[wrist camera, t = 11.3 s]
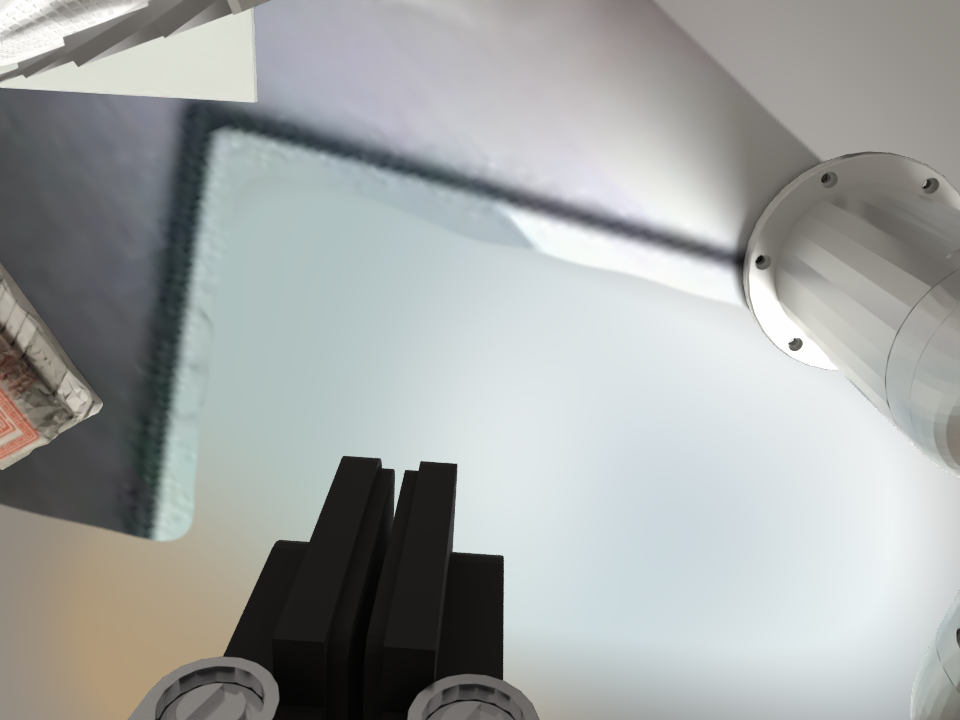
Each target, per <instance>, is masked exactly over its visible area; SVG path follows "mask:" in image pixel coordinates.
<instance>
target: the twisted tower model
mask: <svg viewBox="0 0 960 720" xmlns="http://www.w3.org/2000/svg"><path fill="white" fill-rule="evenodd" d="M267 1H270V0H0V66H5V65H9V64H13V63H16V62H18V63H17V64H18V67H19V68H17V69H14V70H11V71H9V72H6V73H3V74H1V75H0V83H1V82H4V81H7V80H9V79H12V78H15V77H17V76H20V75H23V76H24V77H25V78H29V77H32V76H34V75H37V74H40V73H42V72H45V71H48V70H50V69H53V68H56V67H58V66H61V65H64V64H66V63H69V62H72V61H74V63H75V64H76V65H77V66H78V67H80V66H83V65H86V64H88V63H91V62H94V61H97V60H99V59H102V58H105V57H107V56H110V55H113V54H116V53H118V52H121V51H124V50H126V49H129V48H132V47H134V46H137V45H140V44H143V43H145V42H148V41H151V40H153V39H156V38H159V37H162V36H163V37H164V38H168V37H170V36H173V35H176V34H178V33H181V32H184V31H186V30H189V29H192V28H195V27H197V26H200V25H203V24H205V23H208V22H211V21H213V20H216V19H219V18H221V17H224V16H227V15H230V14H232V13H233V15H235V14H238V13H241V12H243V11H246V10H248V9H250V8H253V7H255V6H258V5H260V4H262V3H265V2H267ZM20 61H21V62H20Z"/></svg>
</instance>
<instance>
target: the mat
mask: <svg viewBox="0 0 960 720" xmlns="http://www.w3.org/2000/svg"><path fill="white" fill-rule="evenodd" d="M20 62H21V61H20ZM17 63H18V62H16V63H13V64H9V65H5V66H0V75H1V74H3V73H6V72H9V71H11V70H14V69H17V68H19V67H18V64H17ZM0 87H1V88H18V89H35V90H52V91H69V92H86V93H103V94H120V95H137V96H155V97H172V98H189V99H206V100H223V101H240V102H258V98H257V74H256V50H255V26H254V7H253V8H250V9H248V10H246V11H243V12H241V13H238V14H235V15H233V13H232V14H230V15H227V16H224V17H221V18H219V19H216V20H213V21H211V22H208V23H205V24H203V25H200V26H197V27H195V28H192V29H189V30H186V31H184V32H181V33H178V34H176V35H173V36H170V37H168V38H164V37H163V36H162V37H159V38H156V39H153V40H151V41H148V42H145V43H143V44H140V45H137V46H134V47H132V48H129V49H126V50H124V51H121V52H118V53H116V54H113V55H110V56H107V57H105V58H102V59H99V60H97V61H94V62H91V63H88V64H86V65H83V66H80V67H78V66H77V65H76V64H75V63H74V61H72V62H69V63H66V64H64V65H61V66H58V67H56V68H53V69H50V70H48V71H45V72H42V73H40V74H37V75H34V76H32V77H29V78H25V77H24V76H23V75H20V76H17V77H15V78H12V79H9V80H7V81H4V82H1V83H0Z"/></svg>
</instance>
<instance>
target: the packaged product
mask: <svg viewBox="0 0 960 720" xmlns="http://www.w3.org/2000/svg"><path fill="white" fill-rule="evenodd" d="M102 405H103V403H102V401H101V399H100V398H99V397H98V396H97V394H96V393H95V392H94V390H93V389H92V388H91V386H90V385H89V384H88V382H87V381H86V380H85V378H84V377H83V376H82V375H81V373H80V372H79V371H78V370H77V368H76V367H75V366H74V364H73V363H72V362H71V360H70V359H69V357H68V356H67V354H66V353H65V351H64V350H63V348H62V347H61V346H60V344H59V343H58V341H57V340H56V338H55V337H54V335H53V334H52V333H51V331H50V330H49V328H48V327H47V325H46V324H45V323H44V321H43V320H42V319H41V318H40V316H39V315H38V313H37V312H36V311H35V309H34V308H33V307H32V305H31V304H30V303H29V301H28V300H27V298H26V297H25V296H24V294H23V293H22V292H21V290H20V289H19V287H18V286H17V285H16V283H15V282H14V280H13V279H12V278H11V276H10V275H9V273H8V272H7V271H6V269H5V268H4V267H3V265H2V264H1V263H0V469H1V470H4V469H5V468H7V467H8V466H10V465H12V464H13V463H15V462H17V461H19V460H20V459H22V458H24V457H25V456H27V455H29V454H30V453H31V451H32V450H33V449H35V448H37V447H39V446H43V445H46V444H48V443H49V442H50V441H51V440H53V439H55V438H56V437H57V435H58V434H59V433H61V432H63V431H64V430H66V429H68V428H70V427H72V426H74V425H76V424H77V423H79V422H81V421H83V420H85V419H87V418H88V417H90V416H92V415H94V414H96V413H98V412H99V411H100V409H101V408H102Z"/></svg>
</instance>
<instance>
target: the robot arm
mask: <svg viewBox="0 0 960 720" xmlns="http://www.w3.org/2000/svg"><path fill="white" fill-rule="evenodd" d="M825 173H827V175H828V178H827V180H825V181H824V182H822V181H821V179H822V177H823V175H824V174H825ZM926 180H927V184H926V186H924V187H922V185H923V183H924V181H926ZM760 255H762V256H763V258H762V261H760V262H756V259H757V258H758V257H759V256H760ZM743 285H744V290H745V296H746V302H747V304H748V307H749V309H750V311H751V314H752V316H753V319H754V320H755V322H756V323H757V325H758V326H759V327H760V329H761V330H762V332H763V333H764V335H765V336H766V337H767V338H768V339H769V340H770V341H771V342H772V343H773V344H774V345H775V346H776V347H777V348H778V349H780V350H781V351H782V352H784V353H785V354H786V355H788V356H789V357H791V358H793V359H795V360H798V361H800V362H802V363H804V364H806V365H809V366H813V367H817V368H821V369H825V370H839V371H840V372H841V373H842V374H843V375H844V376H845V377H846V378H847V379H848V380H849V381H850V382H851V383H852V384H853V385H854V386H855V387H856V388H857V389H858V390H859V391H860V392H861V393H862V394H863V395H864V396H865V397H866V398H867V399H868V400H869V401H870V402H871V403H872V404H873V405H874V406H875V407H876V408H877V409H878V410H879V411H880V412H881V413H882V414H883V415H884V416H885V417H886V418H887V419H888V420H889V421H890V422H891V423H892V424H893V425H894V426H895V427H896V428H897V430H899V432H900V433H902V435H904V437H905V438H907V440H909V442H911V443H912V444H913V445H914V446H915V447H916V448H917V449H918V450H919V451H920V452H921V453H922V454H923V455H925V456H926V457H927V458H928V459H929V460H930V461H932V462H933V463H934V464H935V465H937V466H938V467H940V468H941V469H943V470H944V471H946V472H948V473H949V474H951V475H953V476H955V477H957V478H959V479H960V194H959V192H958V190H957V189H956V188H955V187H954V186H953V185H952V184H951V183H950V182H949V181H948V180H947V179H946V178H945V176H943V175H942V174H940V173H939V172H937V171H936V170H934V169H933V168H931V167H930V166H928V165H926V164H924V163H921V162H919V161H916V160H914V159H911V158H908V157H905V156H900V155H897V154H893V153H883V152H862V153H855V154H847V155H843V156H840V157H837V158H834V159H831V160H828V161H825V162H823V163H821V164H819V165H817V166H815V167H813V168H811V169H809V170H807V171H805V172H804V173H802V174H801V175H800V176H798V177H797V178H796V179H794V180H793V181H792V182H790V183H789V184H788V185H786V186H785V187H784V188H783V189H782V190H781V191H780V192H779V194H778V195H777V196H776V197H775V198H774V199H773V200H772V201H771V202H770V203H769V205H768V206H767V208H766V209H765V211H764V212H763V214H762V215H761V217H760V218H759V220H758V221H757V223H756V225H755V228H754V230H753V232H752V235H751V237H750V239H749V242H748V246H747V250H746V254H745V259H744V269H743ZM792 338H794V341H793V342H791V343H788V342H789V340H791V339H792ZM456 481H457V464H452V463H436V462H423V461H421V462H420V467H419V471H412V470H411V471H410V470H405V473H404V478H403V482H402V486H401V490H400V495H399V499H398V503H397V508H396V512H395V516H394V486H395V485H394V484H395V471H394V469H384V468H382V463H381V459H379V458H364V457H350V456H343V457H342V459H341V462H340V464H339V467H338V469H337V472H336V475H335V477H334V480H333V482H332V485H331V487H330V490H329V493H328V495H327V498H326V500H325V503H324V506H323V508H322V511H321V513H320V516H319V519H318V521H317V524H316V526H315V529H314V531H313V534H312V537H311V539H310V542H300V541H287V540H279V541H277V542H276V543H275V544H274V546H273V548H272V550H271V552H270V554H269V556H268V559H267V561H266V563H265V565H264V568H263V570H262V572H261V574H260V576H259V579H258V581H257V583H256V585H255V587H254V590H253V592H252V594H251V596H250V599H249V601H248V603H247V605H246V607H245V610H244V612H243V614H242V616H241V618H240V620H239V623H238V625H237V627H236V629H235V631H234V634H233V636H232V638H231V640H230V642H229V645H228V647H227V649H226V651H225V653H224V656H223V657H215V658H208V659H201V660H198V661H195V662H192V663H190V664H187V665H184V666H181V667H179V668H178V669H176V670H174V671H173V672H171V673H169V674H168V675H166V676H164V677H163V678H162V679H161V680H160V681H159V682H158V683H157V684H156V685H155V686H154V687H153V688H152V689H151V690H150V691H149V692H148V693H147V695H146V696H145V697H144V699H143V700H142V701H141V703H140V704H139V705H138V707H137V708H136V709H135V710H134V712H133V713H132V715H131V716H130V717H129V718H128V720H539V717H538V715H537V713H536V710H535V708H534V706H533V704H532V703H531V702H530V701H529V699H528V698H527V697H526V696H525V695H524V694H523V693H522V692H521V691H520V690H518V689H517V688H515V687H513V686H512V685H510V684H508V683H507V682H505V681H503V597H504V592H503V591H504V588H503V587H504V558H503V556H500V555H486V554H471V553H457V552H452V549H453V532H454V514H455V498H456ZM911 720H960V590H959V592H958V594H957V596H956V598H955V600H954V601H953V603H952V605H951V607H950V609H949V610H948V612H947V614H946V616H945V618H944V619H943V621H942V623H941V625H940V626H939V628H938V630H937V633H936V635H935V636H934V638H933V640H932V642H931V644H930V645H929V647H928V649H927V652H926V654H925V656H924V658H923V660H922V662H921V665H920V667H919V669H918V672H917V674H916V678H915V681H914V684H913V689H912V694H911Z"/></svg>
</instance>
